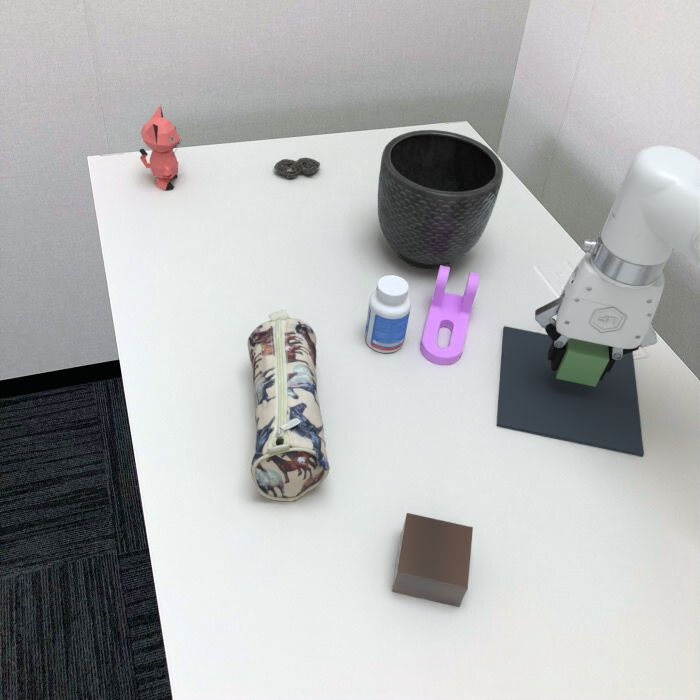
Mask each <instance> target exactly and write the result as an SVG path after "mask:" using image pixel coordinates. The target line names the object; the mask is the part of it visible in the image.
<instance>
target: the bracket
mask: <svg viewBox="0 0 700 700" xmlns="http://www.w3.org/2000/svg"><path fill="white" fill-rule="evenodd" d="M450 270H451V267H450V266H447V265H444V266H442V265H440V267H439V268H438V273H437V277H436V281H435V286H434V289H433V294H432V299H431V303H430V307H429V310H428V314H427V319H426V322H425V326H424V330H423V334H422V338H421V342H420V352H421V354H422V355H423V357H424V358H425V359H426V360H428V361H429V362H430V363H433V364H436V365H441V366H448V365H453V364H455V363H457V362H458V361H459V360H460V359H461V357H462V354H463V350H464V346H465V345H464V344H465V341H466V336H467V332H468V331H467V330H468V325H469V320H470V316H471V313H472V308H473V305H474V302H475V298H476V295H477V291H478V287H479V283H480V279H481V274H480V273H477V272H473V271H470V272H469V273H468V278H467V282H466V285H465V289H464V293H463V296H462V295H458V294H454V293H450V292H445V291H446V287H447V283H448V278H449V274H450ZM441 328H448V329H449V330H450V331H451V335H450V339H449V344H448V346H445V347H442V346H440V345H439V344H438V343H437V339H438V334H439V331H440V329H441Z"/></svg>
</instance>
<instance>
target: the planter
mask: <svg viewBox="0 0 700 700" xmlns="http://www.w3.org/2000/svg"><path fill="white" fill-rule="evenodd" d="M380 159H381V160H380V168H379V174H378V185H377V186H378V187H377V216H378V224H379V227H380V230H381V233H382V235H383V238H384V239H385V240H386V243H388V245H389V246H390V247H391V248H392V249H393V250H394V251H395V252H396V253H397V255H398V256H399V257H400V258H401V259H402V260H403V261H404V262H406V263H408V264H409V265H411V266H414V267H416V268H421V269H428V270H429V269H430V270H431V269H440V265H442V266H447V265H448V264H449V263H451V262H454V261H457V260H458V259H461V258H463V257H464V256H466V255H467V254H468V253H470V252H471V250H472V249H473V248H474V247H475V246H476V245H477V244H478V242H479V241H480V239H481V238H482V236H483V234H484V232H485V230H486V228H487V226H488V223H489V221H490V219H491V217H492V214H493V211H494V209H495V206H496V203H497V201H498V197H499V193H500V189H501V186H502V182H503V178H504V167H503V164H502V161H501V160H500V158H499V157H498V156H497V155H496V154H495V152H494V151H493V150H491V149H490V148H489V147H488V146H486V145H485V144H483V143H481V142H480V141H478V140H476V139H474V138H471V137H470V136H467V135H465V134H460V133H457V132H451V131H448V130H440V129H421V130H413V131H409V132H405V133H402V134H400V135H398V136H396V137H394V138H392V139H390V141H388V142H387V144H386V145H385V146H384V149H383V151H382V154H381V158H380Z"/></svg>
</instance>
